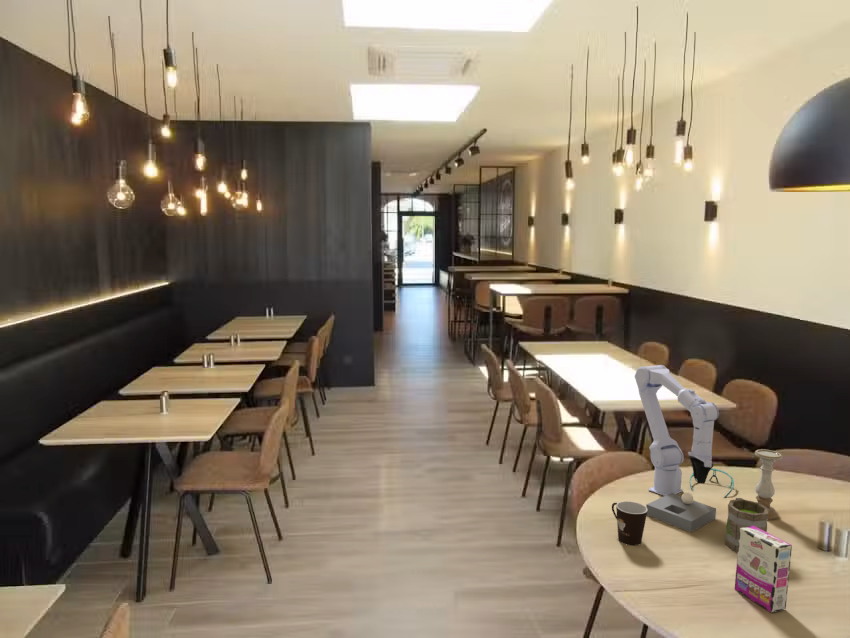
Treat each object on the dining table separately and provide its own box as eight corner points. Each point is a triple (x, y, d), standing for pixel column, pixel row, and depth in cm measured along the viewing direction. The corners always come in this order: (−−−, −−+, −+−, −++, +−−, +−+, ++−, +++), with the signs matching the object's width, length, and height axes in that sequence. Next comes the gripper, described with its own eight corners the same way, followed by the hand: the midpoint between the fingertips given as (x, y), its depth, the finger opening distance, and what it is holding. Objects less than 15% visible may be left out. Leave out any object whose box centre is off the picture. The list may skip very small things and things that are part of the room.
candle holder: (776, 522, 197) (782, 460, 194) (745, 514, 202) (750, 453, 199) (780, 513, 204) (786, 452, 201) (750, 505, 209) (755, 446, 206)
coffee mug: (649, 547, 179) (651, 514, 178) (618, 547, 180) (621, 513, 178) (636, 528, 191) (638, 497, 190) (608, 528, 191) (609, 496, 190)
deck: (671, 502, 210) (671, 492, 210) (715, 519, 199) (716, 508, 198) (645, 514, 201) (646, 504, 200) (690, 532, 189) (691, 521, 189)
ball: (684, 500, 204) (685, 489, 203) (694, 504, 201) (695, 493, 201) (678, 503, 202) (679, 492, 201) (689, 506, 199) (690, 496, 198)
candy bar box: (787, 609, 150) (793, 544, 148) (771, 614, 149) (777, 548, 146) (748, 585, 161) (753, 524, 159) (733, 589, 159) (738, 527, 157)
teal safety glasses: (735, 485, 226) (736, 472, 225) (729, 504, 214) (731, 490, 213) (693, 477, 234) (694, 464, 233) (685, 494, 222) (686, 481, 220)
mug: (771, 558, 175) (775, 517, 173) (729, 554, 177) (733, 513, 175) (754, 532, 190) (757, 494, 188) (715, 528, 192) (718, 491, 190)
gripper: (683, 432, 211) (680, 471, 213) (696, 446, 196) (693, 488, 198) (705, 433, 210) (702, 473, 212) (720, 448, 196) (716, 490, 197)
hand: (699, 480), depth 205 cm, fingers open, 3 cm apart
